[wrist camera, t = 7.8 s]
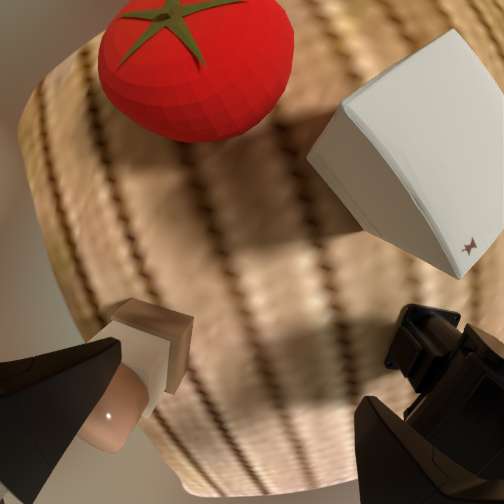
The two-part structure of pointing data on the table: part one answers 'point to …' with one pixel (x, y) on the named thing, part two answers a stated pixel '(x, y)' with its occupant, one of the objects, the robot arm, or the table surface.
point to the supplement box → (422, 155)
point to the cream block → (142, 358)
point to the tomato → (197, 65)
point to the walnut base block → (161, 333)
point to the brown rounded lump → (116, 412)
